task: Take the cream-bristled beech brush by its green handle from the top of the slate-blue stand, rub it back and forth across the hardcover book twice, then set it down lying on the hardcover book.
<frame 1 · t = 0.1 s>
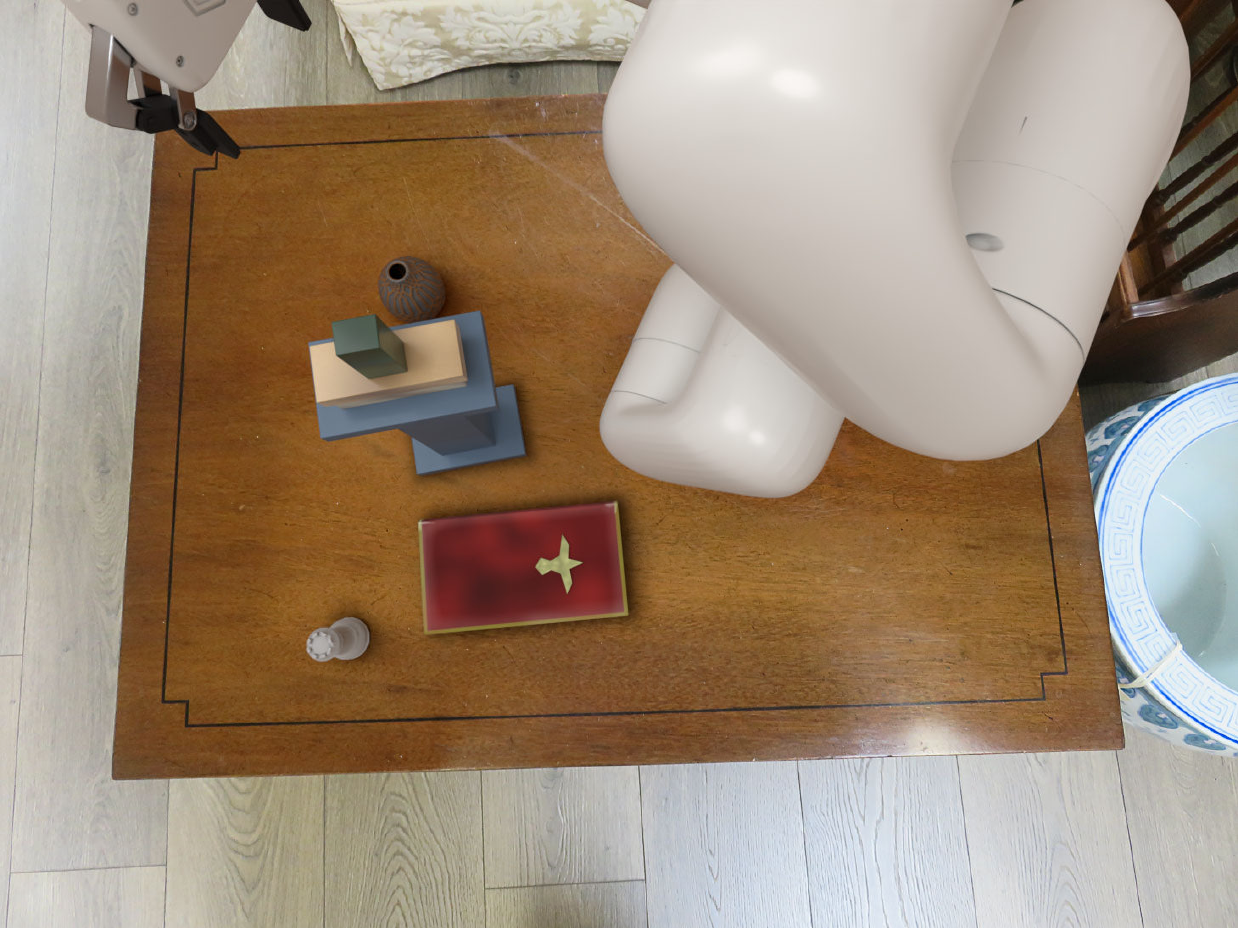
hand: (255, 83, 47), 37 cm above the table, tool pointing down, fingers open, 9 cm apart
hardcover book: (527, 566, 79), on the table
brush: (401, 373, 57), point 24 cm above the table, touching stand
stand: (468, 431, 81), on the table
vase: (421, 302, 84), on the table
rook chess piece: (351, 637, 78), on the table
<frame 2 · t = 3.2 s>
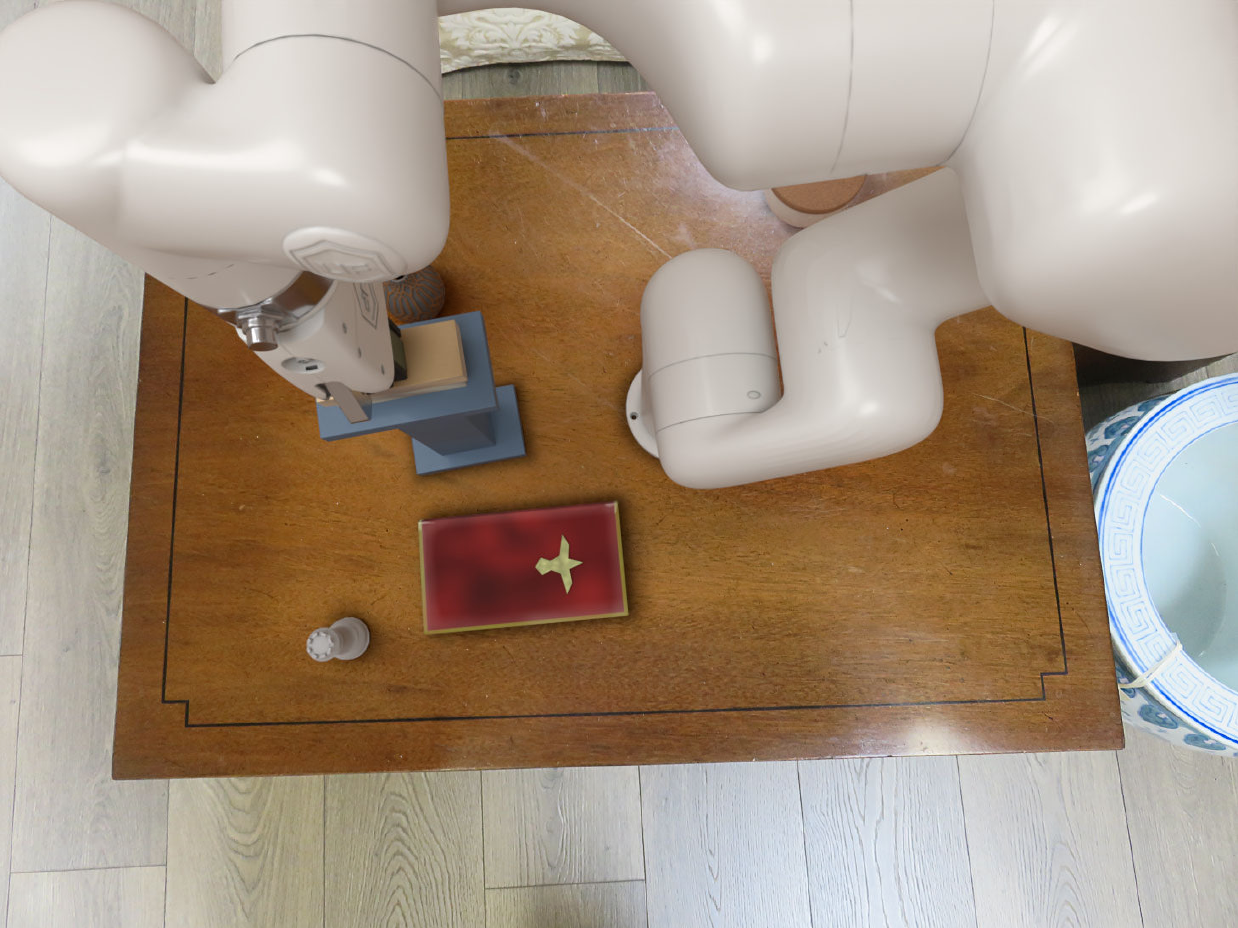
hand: (383, 358, 53), 28 cm above the table, tool pointing down, fingers closed on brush, 2 cm apart
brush: (401, 373, 57), point 24 cm above the table, touching gripper, stand
everything else where it was.
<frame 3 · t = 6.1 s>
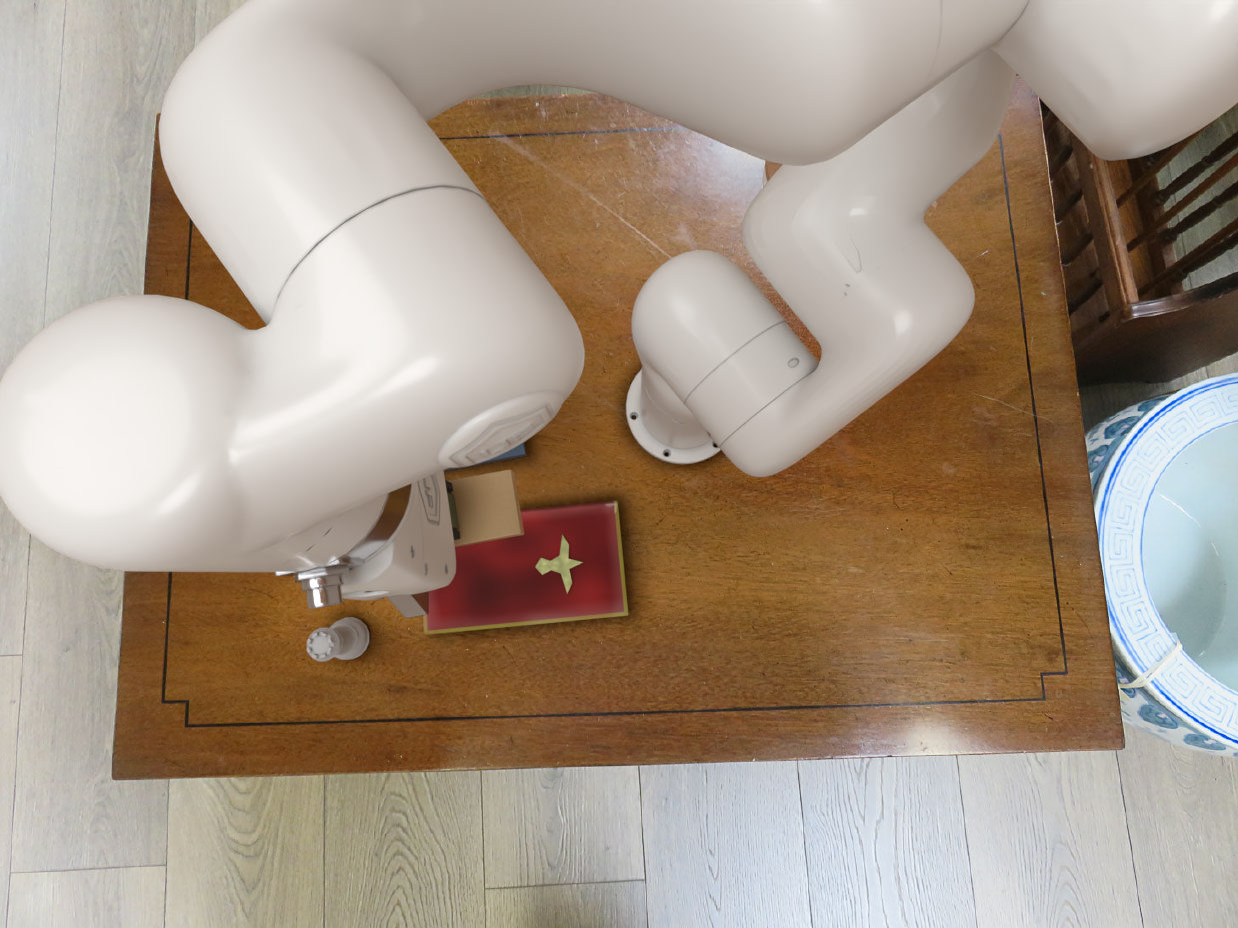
hand: (433, 515, 48), 32 cm above the table, tool pointing down, fingers closed on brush, 2 cm apart
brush: (448, 519, 52), point 27 cm above the table, touching gripper
everything else where it was.
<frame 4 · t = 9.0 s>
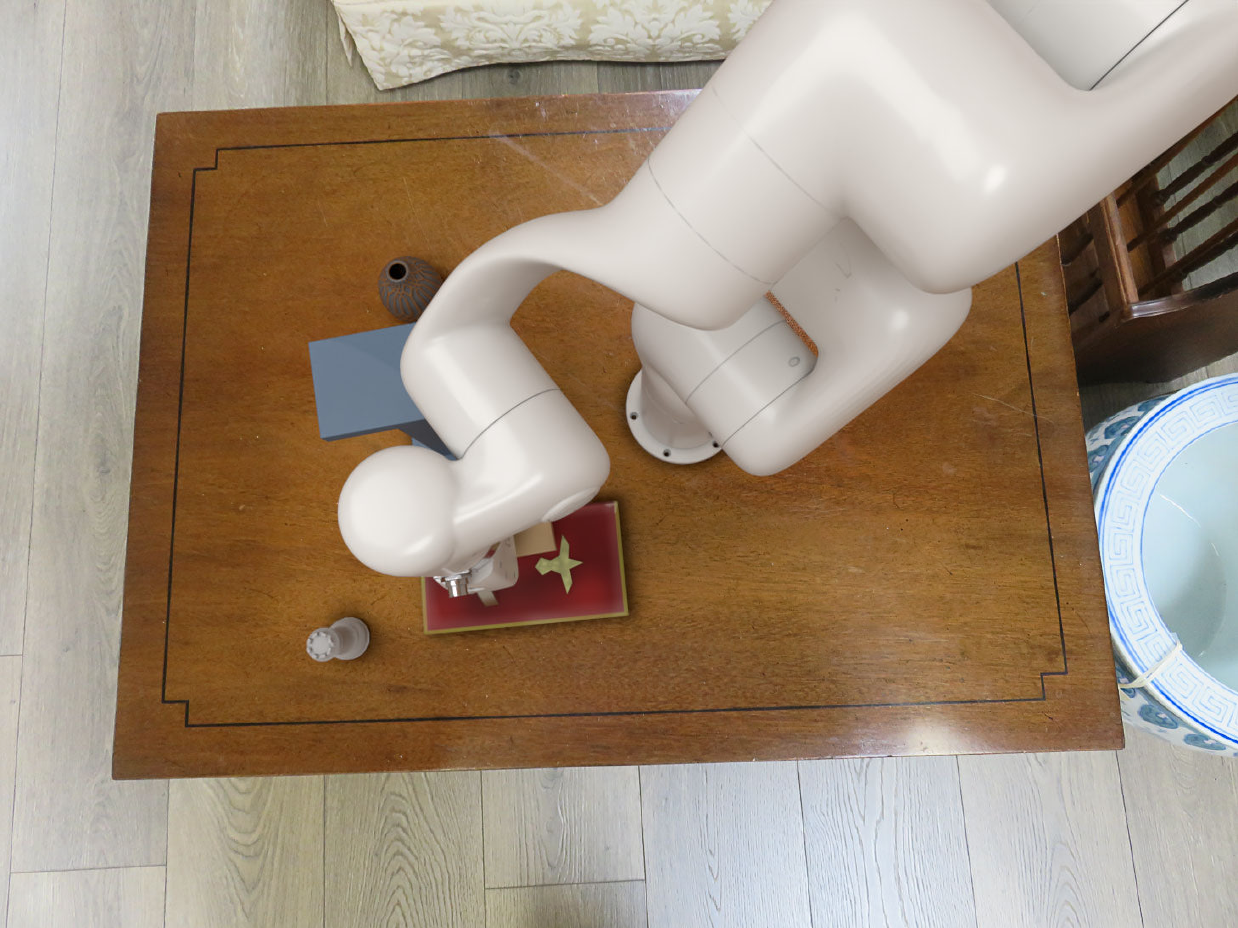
hand: (495, 537, 70), 10 cm above the table, tool pointing down, fingers closed on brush, 2 cm apart
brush: (501, 539, 74), point 6 cm above the table, touching gripper
everything else where it was.
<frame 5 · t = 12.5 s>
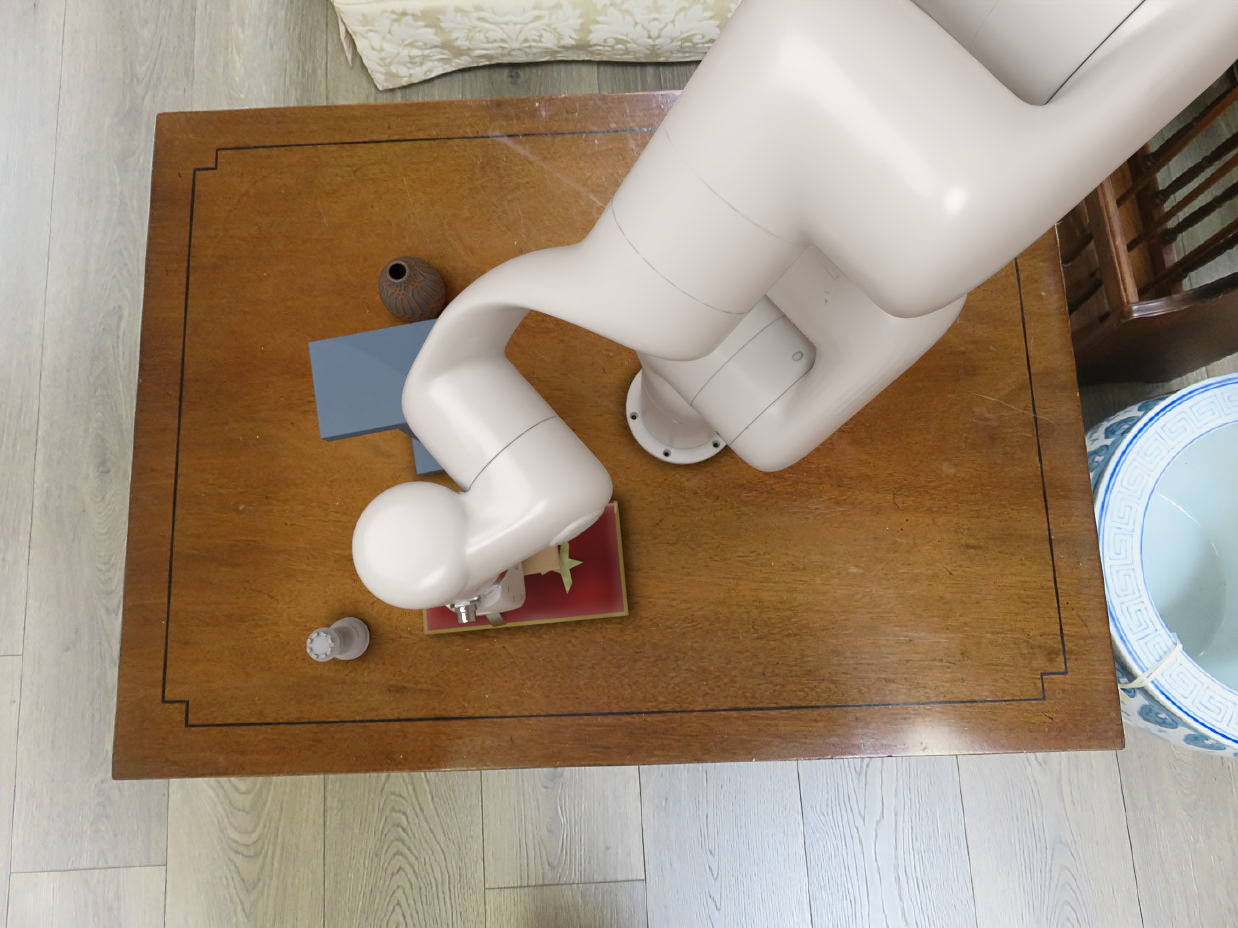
hand: (502, 556, 71), 8 cm above the table, tool pointing down, fingers closed on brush, 2 cm apart
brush: (507, 557, 75), point 4 cm above the table, touching gripper
everything else where it was.
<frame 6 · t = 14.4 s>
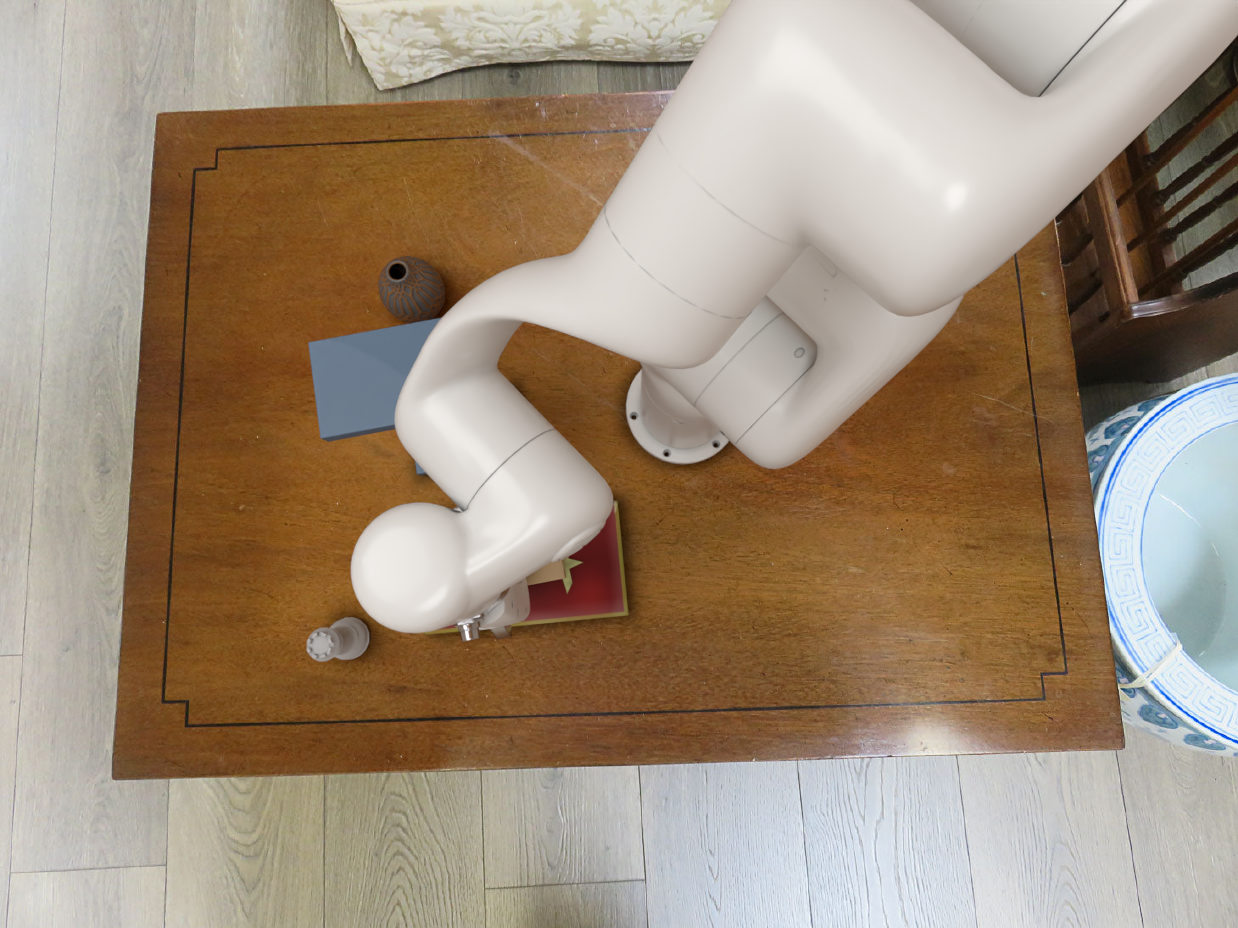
hand: (506, 566, 70), 9 cm above the table, tool pointing down, fingers closed on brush, 2 cm apart
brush: (511, 566, 74), point 5 cm above the table, touching gripper
everything else where it was.
when the fingers open (8 cm above the table, at t = 15.1 s): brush stays where it is, resting on hardcover book.
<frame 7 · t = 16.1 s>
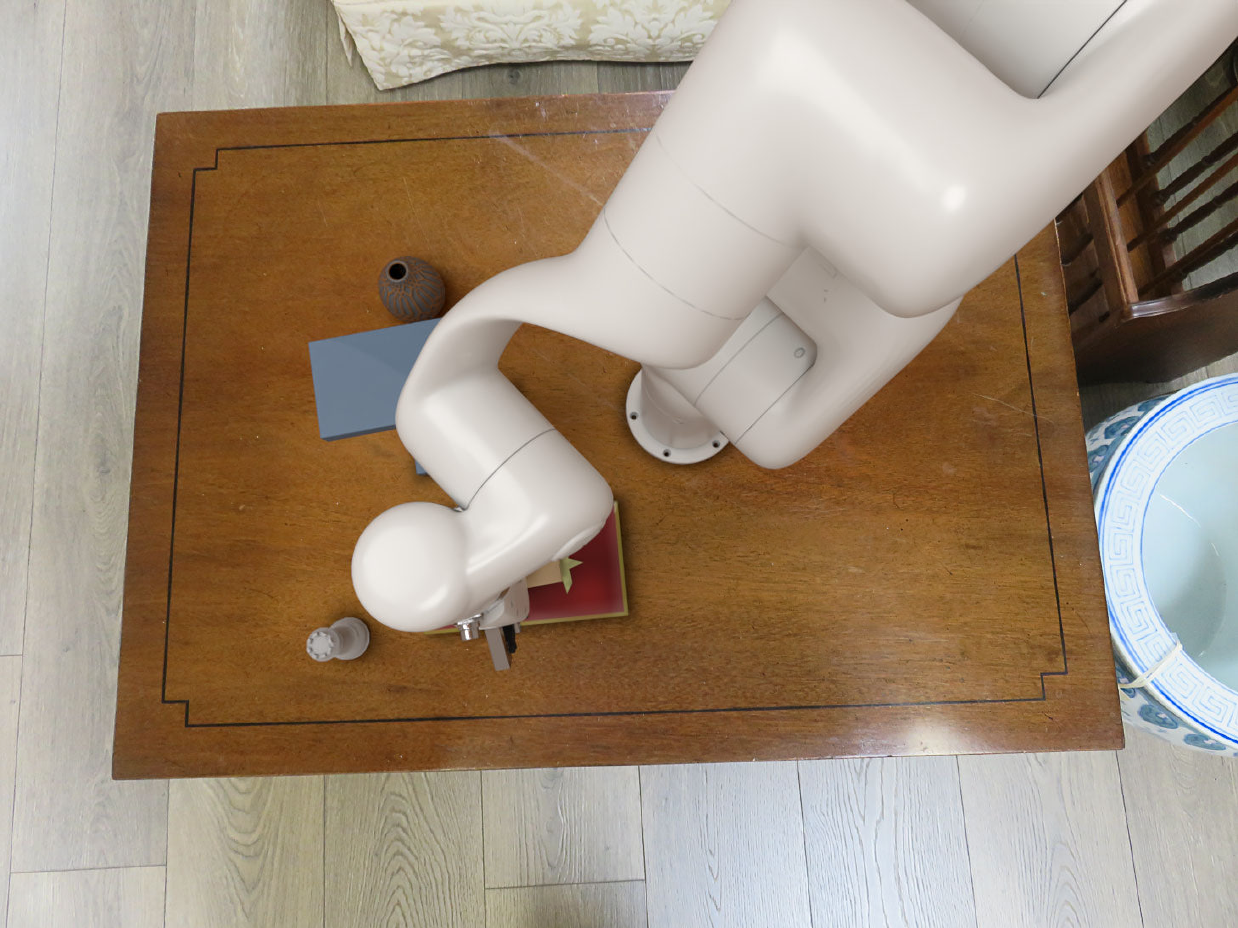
hand: (504, 566, 69), 10 cm above the table, tool pointing down, fingers open, 9 cm apart
hardcover book: (527, 566, 79), on the table, touching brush
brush: (509, 569, 75), point 4 cm above the table, touching hardcover book
everything else where it was.
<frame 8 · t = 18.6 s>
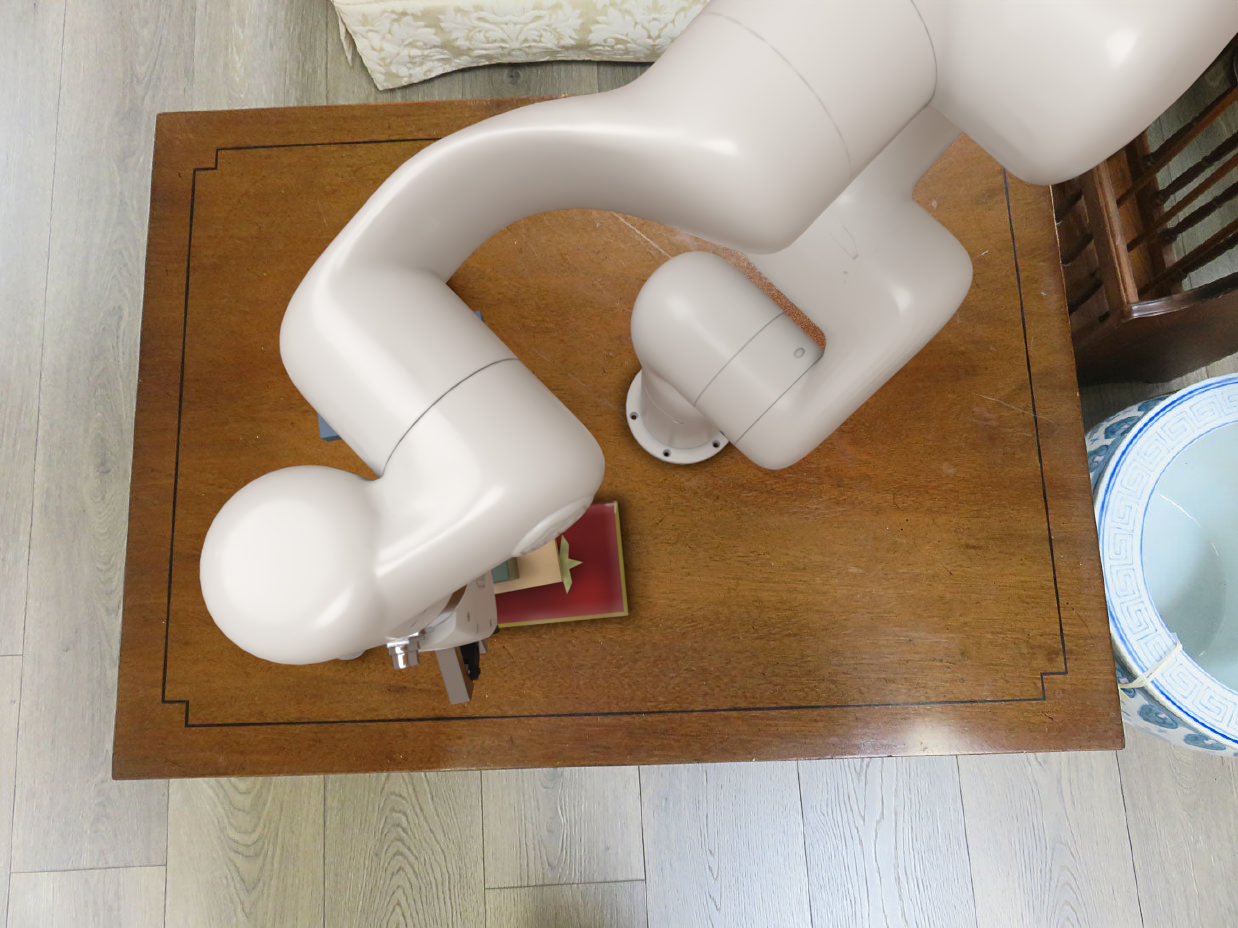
hand: (468, 566, 55), 24 cm above the table, tool pointing down, fingers open, 9 cm apart
nothing on the table moved.
at the end: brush inside the target area on the hardcover book (1.3 cm from its centre), point 4.4 cm above the hardcover book's base; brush tilted 0°; hardcover book moved 0.2 cm from its start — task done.
